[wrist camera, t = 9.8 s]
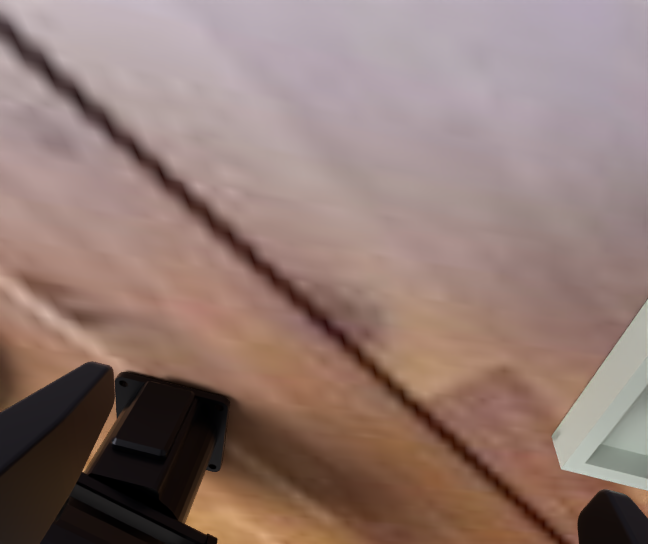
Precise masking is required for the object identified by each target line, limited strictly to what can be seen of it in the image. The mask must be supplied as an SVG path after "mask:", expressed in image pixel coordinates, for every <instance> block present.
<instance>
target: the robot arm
mask: <svg viewBox="0 0 648 544" xmlns="http://www.w3.org/2000/svg"><path fill="white" fill-rule="evenodd" d="M115 395H116V413H117V420H116V421H115V423H114V424H113V426H112V428H111V429H110V431H109V433H108V434H107V436H106V437H105V439H104V441H103V442H102V444H101V445H100V447H99V449H98V450H97V452H96V453H95V455H94V457H93V458H92V460H91V462H90V463H89V465H88V466H87V468H86V470H85V471H84V473H83V472H82V470H83V468H84V466H85V464H86V462H87V460H88V458H89V456H90V454H91V451H92V449H93V447H94V445H95V443H96V441H97V439H98V437H99V435H100V433H101V431H102V428H103V426H104V424H105V422H106V420H107V418H108V416H109V414H110V412H111V409H112V407H113V404H114V400H115ZM219 404H220V405H219ZM229 409H230V401H229V400H228V399H227V398H226V397H223V396H219V395H215V394H211V393H207V392H203V391H199V390H195V389H191V388H187V387H183V386H179V385H175V384H171V383H167V382H163V381H159V380H155V379H151V378H147V377H143V376H139V375H135V374H131V373H127V372H121V373H120V374H119V375H118V376H117V377H116V379H115V389H114V372H113V369H112V367H111V366H109V365H105V364H101V363H97V362H87V363H85V364H83V365H81V366H80V367H78V368H76V369H75V370H73V371H71V372H69V373H68V374H66V375H64V376H62V377H61V378H59V379H57V380H56V381H54V382H52V383H50V384H49V385H47V386H45V387H44V388H42V389H40V390H38V391H37V392H35V393H33V394H31V395H30V396H28V397H26V398H25V399H23V400H21V401H19V402H18V403H16V404H14V405H12V406H11V407H9V408H7V409H6V410H4V411H2V412H0V544H217V538H216V537H214V536H212V535H210V534H207V535H206V534H204V533H202V532H200V531H198V530H196V529H194V528H192V527H190V526H188V525H186V524H185V522H186V520H187V517H188V514H189V512H190V509H191V507H192V504H193V502H194V499H195V497H196V494H197V491H198V489H199V486H200V484H201V481H202V479H203V476H204V474H205V471H206V470H208V471H212V472H217V471H219V470H220V468H221V465H222V461H223V454H224V446H225V439H226V432H227V424H228V417H229ZM578 537H579V544H648V518H647V517H646V516H645V515H644V513H643V512H642V511H641V510H640V509H639V508H638V506H637V505H636V504H635V503H634V502H633V501H632V500H631V499H630V498H629V497H628V496H627V495H625V494H622V493H619V492H615V491H611V490H606V489H603V490H600V491H599V492H598V493H597V494H596V495H595V496H594V497H593V499H592V500H591V501H590V502H589V503H588V504H587V505H586V507H585V508H584V509H583V510H582V511H581V513H580V515H579V518H578Z"/></svg>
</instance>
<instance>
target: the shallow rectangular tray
mask: <svg viewBox="0 0 648 544" xmlns="http://www.w3.org/2000/svg"><path fill="white" fill-rule="evenodd" d="M552 439H553V443H554V446H555V450H556V453H557V457H558V460H559V464H560V467H561V469H563V470H567V471H571V472H575V473H579V474H583V475H587V476H591V477H595V478H599V479H603V480H607V481H611V482H615V483H619V484H623V485H627V486H631V487H635V488H639V489H643V490H647V491H648V299H647V301H646V302H645V304H644V305H643V307H642V308H641V309H640V311H639V312H638V314H637V315H636V317H635V318H634V319H633V321H632V322H631V324H630V325H629V327H628V328H627V329H626V331H625V332H624V334H623V335H622V336H621V338H620V339H619V341H618V342H617V344H616V345H615V346H614V348H613V349H612V351H611V352H610V354H609V355H608V356H607V358H606V359H605V361H604V362H603V364H602V365H601V366H600V368H599V369H598V371H597V372H596V373H595V375H594V376H593V378H592V379H591V381H590V382H589V383H588V385H587V386H586V388H585V389H584V391H583V392H582V393H581V395H580V396H579V398H578V399H577V401H576V402H575V403H574V405H573V406H572V408H571V409H570V410H569V412H568V413H567V415H566V416H565V418H564V419H563V420H562V422H561V423H560V425H559V426H558V428H557V429H556V430H555V432H554V433H553V435H552Z"/></svg>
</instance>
